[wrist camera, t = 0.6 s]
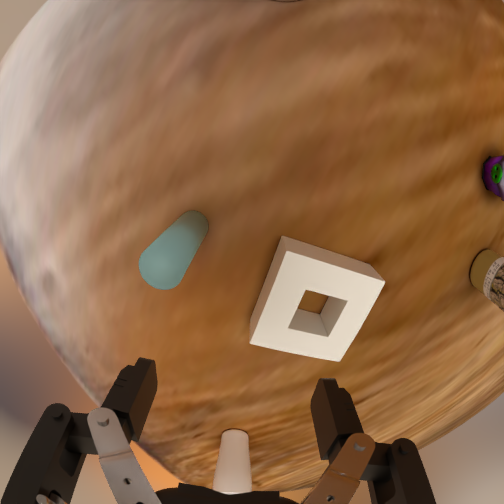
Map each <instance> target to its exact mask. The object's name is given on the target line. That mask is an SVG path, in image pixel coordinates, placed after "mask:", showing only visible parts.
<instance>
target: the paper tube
mask: <svg viewBox="0 0 504 504" xmlns="http://www.w3.org/2000/svg"><path fill="white" fill-rule="evenodd" d="M470 278H471V282H472V284H473V286H474V287H475V288H477V289H478V290H479V291H480V292H482V293H483V294H484V295H485V296H486V297H487V298H489V299H490V300H491V301H492V302H493V303H494V304H496V305H497V306H498V307H499V308H500V309H501V310H503V311H504V257H502V256H501V255H499V254H497V253H496V252H494V251H492V250H490V249H487V250H484V251H482V252H481V253H480V254H479V255H478V256H477V257H476V259H475V260H474V262H473V265H472V268H471V273H470Z"/></svg>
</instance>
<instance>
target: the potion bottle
mask: <svg viewBox="0 0 504 504" xmlns="http://www.w3.org/2000/svg"><path fill="white" fill-rule="evenodd" d="M482 179H483V182H484V184H485V187H486V189H487V190H490V191H492V192H493V193H495V194H496V195H498V196H499V197H501V200H502V201H504V156H498V157H491V156H489V158H488V159H487V160H486V161H485V162H484V163H483V173H482Z"/></svg>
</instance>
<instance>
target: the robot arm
mask: <svg viewBox="0 0 504 504" xmlns="http://www.w3.org/2000/svg"><path fill="white" fill-rule="evenodd" d="M276 1H287V2H288V1H298V0H276ZM156 391H157V374H156V365H155V361H154V360H150V359H145V358H141V357H140V358H139V359H138V360H137V362H136V364H135V366H131V365H128V366H126V367H125V368H124V369H122V370H121V371H120V373H119V375H118V377H117V379H116V380H115V382H114V385H113V386H112V388H111V389H110V391H109V393H108V395H107V397H106V399H105V401H104V402H103V404H102V406H101V407H100V408H96V409H94V410H92V411H91V412H90V413H88V414H84V413H73V412H70V410H69V408H68V407H67V406H65V405H63V404H60V403H55V404H51V405H50V406H48V407H47V408H46V410H45V411H44V413H43V415H42V417H41V418H40V420H39V422H38V424H37V425H36V427H35V429H34V431H33V433H32V435H31V436H30V439H29V440H28V442H27V444H26V446H25V448H24V450H23V452H22V454H21V456H20V458H19V460H18V462H17V465H16V466H15V469H14V471H13V473H12V475H11V477H10V480H9V482H8V484H7V487H6V489H5V492H4V494H3V497H2V499H1V504H70V502H71V498H72V495H73V492H74V489H75V486H76V483H77V480H78V477H79V474H80V471H81V468H82V466H83V463H84V460H85V458H86V455H87V454H95V455H96V454H97V455H99V461H100V464H101V467H102V469H103V472H104V474H105V477H106V479H107V481H108V484H109V486H110V488H111V490H112V492H113V495H114V497H115V499H116V501H117V503H118V504H299V503H296V502H295V501H293V500H290V499H288V498H284V497H280V496H279V491H252V492H246V493H239V494H231V495H229V494H224V493H221V492H218V491H215V490H212V489H209V488H206V487H202V486H196V485H190V484H184V483H179V485H178V488H167V489H163V490H160V491H157V492H154V490H153V489H152V487H151V485H150V483H149V482H148V480H147V478H146V476H145V474H144V473H143V471H142V469H141V467H140V465H139V463H138V461H137V459H136V457H135V455H134V453H133V451H132V450H131V448H130V446H129V444H130V442H131V440H133V441H136V442H138V441H139V438H140V435H141V433H142V430H143V427H144V424H145V421H146V419H147V416H148V413H149V410H150V408H151V405H152V402H153V400H154V397H155V394H156ZM311 413H312V418H313V422H314V427H315V432H316V437H317V442H318V447H319V452H320V458H321V460H329V466H328V467H327V469H326V470H325V471H324V473H323V474H322V476H321V477H320V479H319V480H318V481H317V483H316V484H315V485H314V487H313V488H312V490H311V491H310V492H309V493H308V495H307V496H306V497H305V498H304V499H303V501H302V502H301V503H300V504H349V502H350V500H351V499H352V497H353V495H354V493H355V492H356V490H357V488H358V486H359V484H360V481H359V480H367V482H368V487H369V492H370V497H371V502H372V504H436V502H435V499H434V495H433V492H432V489H431V487H430V483H429V480H428V478H427V475H426V472H425V469H424V467H423V464H422V461H421V458H420V455H419V453H418V450H417V448H416V445H415V444H414V443H413V442H412V441H411V440H409V439H406V438H400V439H397V440H395V441H394V442H393V443H392V444H385V443H377V442H374V440H373V439H372V438H371V437H370V436H369V435H367V434H364V431H363V429H362V426H361V423H360V420H359V417H358V415H357V412H356V410H355V406H354V404H353V401H352V398H351V395H350V394H349V393H348V392H347V391H346V390H345V389H344V388H339V387H338V384H337V381H336V379H335V378H320V379H319V381H318V383H317V386H316V389H315V391H314V394H313V396H312V399H311Z"/></svg>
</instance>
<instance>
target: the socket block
mask: <svg viewBox="0 0 504 504" xmlns="http://www.w3.org/2000/svg"><path fill="white" fill-rule="evenodd" d="M384 284H385V281H384V280H383V279H382V277H381V276H380V275H379V274H378V273H377V272H376V271H375V270H374V269H373V267H372V266H371V265H370V264H367V263H364V262H361V261H359V260H356V259H353V258H350V257H347V256H344V255H341V254H338V253H335V252H332V251H329V250H326V249H323V248H320V247H316V246H313V245H310V244H307V243H304V242H301V241H298V240H295V239H292V238H289V237H285V236H281V239H280V242H279V245H278V247H277V250H276V253H275V255H274V258H273V261H272V263H271V266H270V269H269V271H268V274H267V277H266V279H265V282H264V285H263V287H262V290H261V293H260V295H259V298H258V300H257V303H256V306H255V308H254V311H253V313H252V316H251V319H250V344H254V345H258V346H262V347H267V348H271V349H276V350H280V351H285V352H290V353H294V354H299V355H305V356H310V357H315V358H321V359H326V360H332V361H338V362H339V361H340V360H341V358H342V357H343V355H344V354H345V352H346V351H347V349H348V347H349V346H350V344H351V343H352V341H353V339H354V338H355V336H356V334H357V333H358V331H359V329H360V328H361V326H362V324H363V322H364V321H365V319H366V317H367V315H368V314H369V312H370V310H371V308H372V306H373V305H374V303H375V301H376V299H377V297H378V295H379V293H380V291H381V289H382V288H383V286H384ZM305 290H310V291H314V292H317V293H321V294H325V295H328V296H329V297H328V299H327V301H326V303H325V305H324V307H323V309H322V311H321V313H320V314H317V313H312V312H309V311H305V310H301V309H297V307H298V305H299V303H300V301H301V299H302V296H303V294H304V292H305Z"/></svg>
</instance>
